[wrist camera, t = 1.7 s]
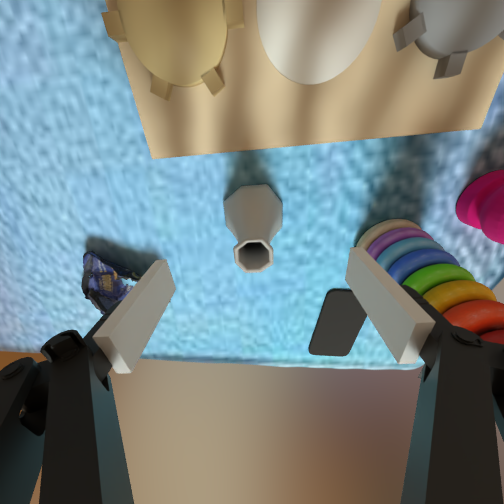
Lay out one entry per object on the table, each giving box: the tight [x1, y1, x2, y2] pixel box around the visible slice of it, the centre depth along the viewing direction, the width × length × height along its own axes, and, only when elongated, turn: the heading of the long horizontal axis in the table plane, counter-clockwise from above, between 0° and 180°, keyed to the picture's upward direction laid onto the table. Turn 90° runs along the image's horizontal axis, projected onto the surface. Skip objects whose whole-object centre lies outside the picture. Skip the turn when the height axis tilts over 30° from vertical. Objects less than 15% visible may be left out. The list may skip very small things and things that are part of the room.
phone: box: [309, 289, 367, 356], centre depth 34 cm, size 7×1×15 cm
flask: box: [223, 184, 283, 273], centre depth 20 cm, size 7×7×10 cm
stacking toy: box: [356, 219, 504, 344], centre depth 18 cm, size 8×8×19 cm
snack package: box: [81, 251, 170, 315], centre depth 28 cm, size 12×6×12 cm
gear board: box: [101, 0, 504, 159], centre depth 15 cm, size 31×18×3 cm, turn 95°
